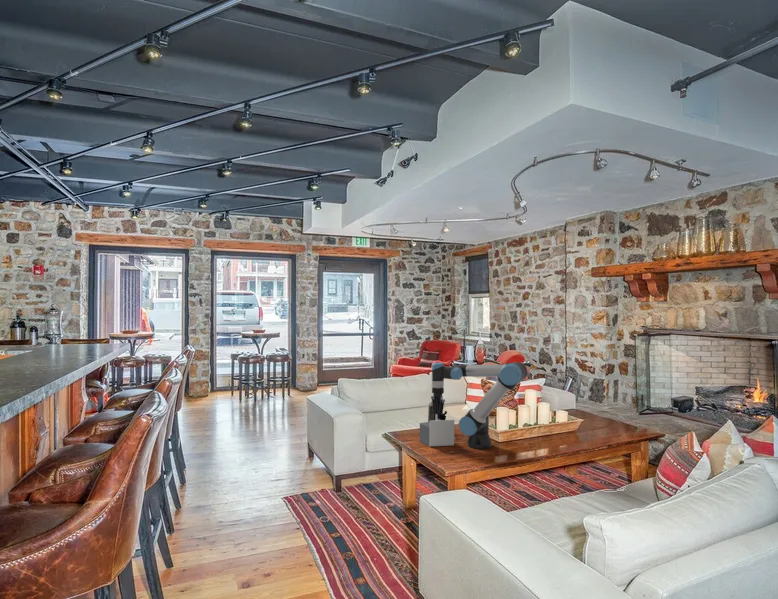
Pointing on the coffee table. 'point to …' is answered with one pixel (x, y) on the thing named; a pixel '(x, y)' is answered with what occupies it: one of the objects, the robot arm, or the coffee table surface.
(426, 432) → the grey box
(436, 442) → the grey square panel
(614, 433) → the coffee table surface
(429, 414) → the vintage camera
